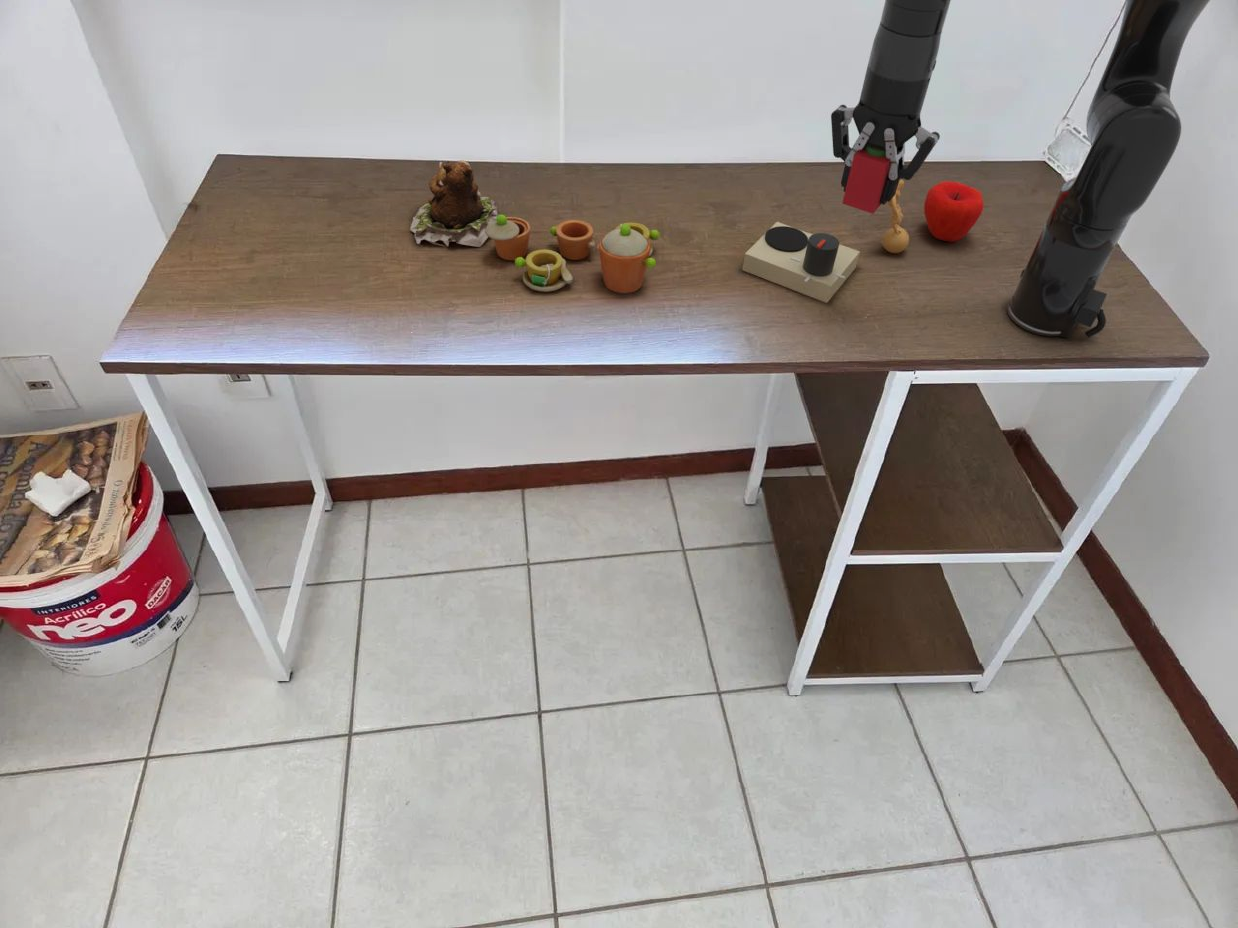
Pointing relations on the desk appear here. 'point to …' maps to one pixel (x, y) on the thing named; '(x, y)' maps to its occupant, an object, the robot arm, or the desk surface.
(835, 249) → the hob knob
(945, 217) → the apple
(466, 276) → the desk surface
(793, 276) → the hob
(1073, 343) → the desk surface
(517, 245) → the toy tea set
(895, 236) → the figurine
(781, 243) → the burner
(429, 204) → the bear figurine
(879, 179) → the red block green button
